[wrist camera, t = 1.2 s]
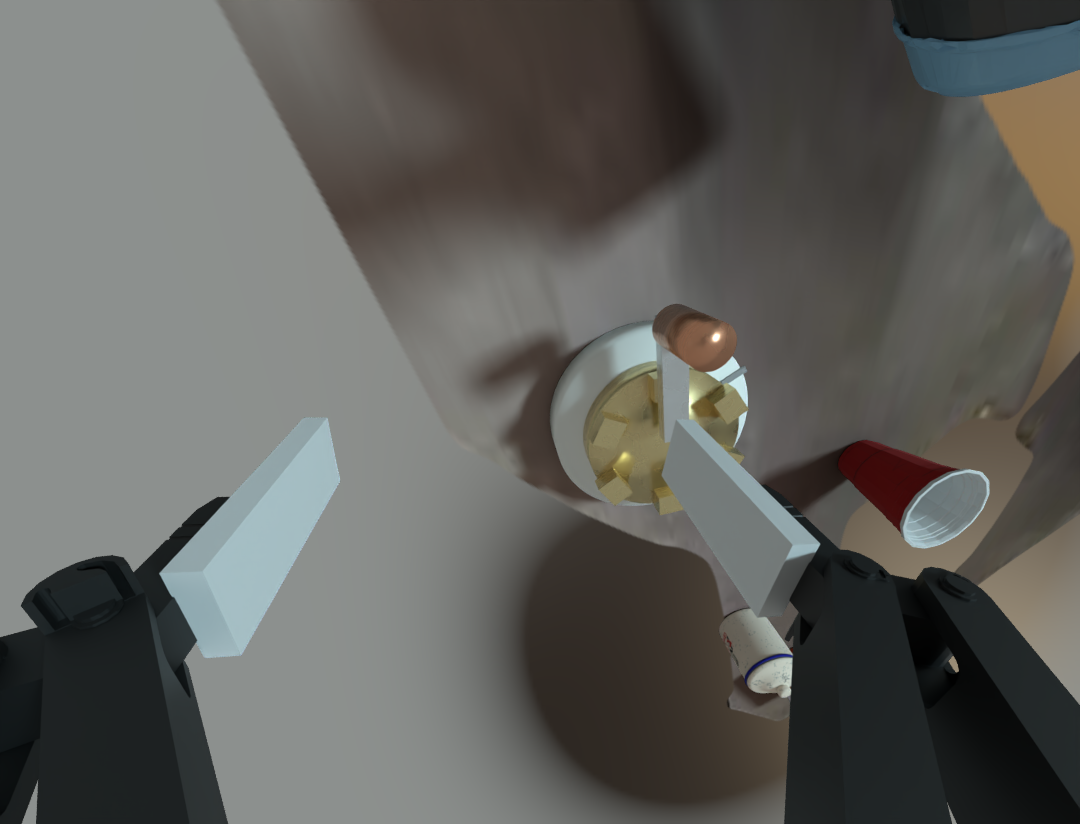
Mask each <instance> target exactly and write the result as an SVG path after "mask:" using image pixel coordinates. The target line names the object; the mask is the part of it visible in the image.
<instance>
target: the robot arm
mask: <svg viewBox="0 0 1080 824" xmlns="http://www.w3.org/2000/svg"><path fill="white" fill-rule="evenodd" d="M891 1H892V5H893V10H894V14H895V16H894V19H893V22H892V23H893V28H894V32H895V34H896V36H897V37H898V39H900V40H901V41H902V42H903V43H904V46H905V49H906V52H907V55H908V58H909V62H910V65H911V68H912V71H913V74H914V77H915V79H916V81H917V82H918V83H919V85H921V86H922V87H923V88H924V89H926V90H930V91H933V92H938V93H939V94H940V95H944V96H951V97H967V96H978V95H986V94H992V93H998V92H1003V91H1007V90H1012V89H1015V88H1020V87H1024V86H1028V85H1031V84H1035V83H1038V82H1042V81H1046V80H1049V79H1052V78H1056V77H1059V76H1061V75H1065V74H1068V73H1071V72H1074V71H1077V70H1080V0H891ZM662 477H663V479H664V480H665V482H666V483H667V485H668V486H669V488H670V489H671V491H672V492H673V494H674V495H675V497H676V498H677V500H678V501H679V502H680V504H681V505H682V507H683V508H684V510H685V511H686V513H687V514H688V516H689V517H690V519H691V520H692V522H693V523H694V525H695V526H696V528H697V529H698V531H699V532H700V534H701V535H702V537H703V538H704V540H705V541H706V543H707V544H708V546H709V547H710V549H711V550H712V552H713V553H714V555H715V556H716V558H717V559H718V561H719V562H720V563H721V565H722V566H723V568H724V569H725V571H726V572H727V574H728V575H729V577H730V578H731V580H732V581H733V583H734V584H735V586H736V587H737V589H738V590H739V592H740V593H741V595H742V596H743V598H744V599H745V601H746V602H747V604H748V605H749V607H750V608H751V610H752V611H753V613H754V614H755V616H756V617H757V618H761V617H774V616H782V614H783V613H784V611H785V609H786V607H787V605H788V603H789V601H790V602H791V603H792V604H793V605H794V607H795V608H796V609H797V610H798V612H799V613H798V615H797V616H796V618H795V620H794V622H793V624H792V625H791V627H790V629H789V631H788V632H787V634H786V637H785V640H787V641H790V639H791V637H792V636H794V639H793V659H792V679H791V699H790V719H789V740H788V759H787V760H788V761H787V779H786V800H785V820H784V824H952V821H951V817H950V813H949V809H948V805H949V807H950V809H951V811H952V814H953V816H954V818H955V820H956V823H957V824H1080V705H1079V704H1078V702H1077V701H1076V700H1075V699H1074V698H1073V696H1072V695H1071V694H1070V693H1069V692H1068V690H1067V689H1066V688H1065V687H1064V686H1063V684H1062V683H1061V682H1060V681H1059V679H1058V678H1057V677H1056V676H1055V675H1054V674H1053V672H1052V671H1051V670H1050V669H1049V667H1048V666H1047V665H1046V664H1045V663H1044V661H1043V660H1042V659H1041V658H1040V657H1039V655H1038V654H1037V653H1036V652H1035V651H1034V649H1033V648H1032V647H1031V646H1030V645H1029V643H1028V642H1027V641H1026V640H1025V638H1024V637H1023V636H1022V635H1021V634H1020V632H1019V631H1018V630H1017V629H1016V628H1015V626H1014V625H1013V624H1012V623H1011V622H1010V620H1009V619H1008V618H1007V617H1006V616H1005V614H1004V613H1003V612H1002V611H1001V610H1000V608H999V607H998V606H997V605H996V604H995V602H994V601H993V600H992V599H991V598H990V597H989V596H988V595H987V594H986V593H985V592H984V591H983V590H982V589H981V588H979V587H978V586H977V585H975V584H974V583H972V582H971V581H970V580H968V579H966V578H965V577H961V575H958V574H956V573H954V572H950V571H947V570H944V569H941V568H934V567H929V568H924V569H923V571H922V572H921V573H920V575H919V576H918V577H917V579H916V580H914V579H909V578H904V577H899V576H894V575H890V574H889V573H888V572H887V571H886V570H885V569H884V568H883V567H882V566H880V565H879V564H878V563H876V562H875V561H873V560H872V559H870V558H868V557H866V556H864V555H862V554H859V553H856V552H853V551H849V550H840V549H838V548H837V547H836V546H835V545H834V544H833V543H832V542H831V541H830V540H829V539H828V538H827V537H826V536H825V535H824V534H823V533H822V532H820V531H819V530H818V529H817V528H816V527H815V526H814V525H813V524H812V523H811V522H810V521H809V520H808V519H807V518H806V517H803V515H802V514H801V513H800V512H799V511H798V510H797V509H796V508H793V505H792V504H791V503H790V502H789V501H788V500H787V499H785V498H784V497H783V496H782V495H781V494H780V493H778V492H776V491H775V490H773V489H771V488H770V487H768V486H766V485H760V484H759V483H758V482H757V481H756V480H755V479H754V478H753V477H752V476H751V475H750V474H749V473H748V472H747V471H746V470H745V469H744V468H743V467H742V466H741V465H740V464H739V463H738V462H736V461H735V460H734V459H733V458H732V457H731V456H730V455H729V454H728V453H727V452H726V451H725V450H724V449H723V448H722V447H721V446H720V445H719V444H718V443H717V442H716V441H715V440H714V439H713V438H712V437H711V436H710V435H709V434H708V433H707V432H706V431H705V430H704V429H703V428H702V427H701V426H700V425H699V424H698V423H697V422H696V421H695V420H676V421H675V425H674V429H673V433H672V437H671V441H670V445H669V449H668V452H667V456H666V460H665V464H664V468H663V472H662ZM339 482H340V477H339V473H338V468H337V463H336V458H335V453H334V448H333V443H332V438H331V434H330V428H329V423H328V418H303V419H302V420H301V421H300V423H299V424H298V425H297V426H296V427H295V428H294V429H293V430H292V431H291V432H290V433H289V435H287V436H286V438H285V439H284V440H283V441H282V442H281V443H280V444H279V445H278V446H277V447H276V448H275V449H274V450H273V452H272V453H271V454H270V455H269V456H268V457H267V458H266V459H265V460H264V461H263V462H262V463H261V465H260V466H259V467H258V468H257V469H256V470H255V471H254V472H253V473H252V474H251V475H250V476H249V477H248V479H247V480H246V481H245V482H244V483H243V484H242V485H241V486H240V487H239V488H238V489H237V490H236V491H235V493H234V494H233V495H232V496H231V497H217V498H215V499H214V500H212V501H210V502H209V503H207V504H205V505H204V506H202V507H201V508H199V509H197V510H196V511H195V512H194V513H193V514H192V515H191V516H190V517H189V518H188V519H187V520H186V521H185V522H184V523H183V524H182V527H179V528H178V529H177V530H176V531H175V532H174V533H173V534H172V535H171V536H170V539H169V540H166V541H165V542H164V543H163V544H162V545H161V546H160V547H159V548H158V549H157V550H156V551H155V552H154V553H153V554H152V555H151V556H150V557H149V558H148V559H147V560H146V561H145V562H144V563H143V564H142V565H141V566H140V567H139V568H138V569H137V570H136V571H135V572H134V573H133V571H132V570H131V568H130V566H129V564H128V563H127V561H126V560H125V559H124V558H123V557H118V556H113V555H111V556H102V557H95V558H92V559H88V560H85V561H81V562H78V563H75V564H73V565H71V566H69V567H66V568H64V569H62V570H60V571H57V572H56V573H54V574H53V575H51V576H49V577H48V578H46V579H45V580H43V581H42V582H40V583H38V584H37V585H36V586H35V587H34V588H33V589H32V590H31V591H30V592H29V593H28V594H27V595H26V596H25V598H24V600H23V602H22V604H21V607H22V608H23V609H24V610H25V612H26V613H27V614H28V615H29V617H30V618H31V619H32V620H33V621H34V623H35V624H36V625H37V628H33V629H29V630H26V631H22V632H18V633H14V634H11V635H7V636H3V637H0V824H22V821H23V818H24V816H25V813H26V810H27V808H28V805H29V802H30V800H31V797H32V794H33V792H34V789H35V786H36V784H37V781H38V795H37V797H38V798H37V816H36V824H228V822H227V818H226V814H225V810H224V806H223V802H222V798H221V794H220V790H219V786H218V782H217V778H216V774H215V770H214V766H213V763H212V759H211V755H210V751H209V747H208V743H207V739H206V735H205V731H204V727H203V723H202V719H201V716H200V711H199V707H198V703H197V700H196V696H195V692H194V688H193V684H192V680H191V676H190V672H189V668H188V666H187V665H186V663H185V661H184V659H185V658H186V656H187V654H188V653H189V652H190V650H191V649H192V647H193V646H194V644H195V643H197V645H198V647H199V649H200V650H201V652H202V654H203V656H204V658H212V657H226V656H240V655H242V653H243V651H244V650H245V648H246V646H247V644H248V643H249V641H250V639H251V637H252V636H253V634H254V632H255V630H256V628H257V627H258V625H259V623H260V621H261V620H262V618H263V616H264V614H265V613H266V611H267V609H268V607H269V606H270V604H271V602H272V600H273V598H274V597H275V595H276V593H277V591H278V590H279V588H280V586H281V584H282V582H283V581H284V579H285V577H286V576H287V574H288V572H289V570H290V569H291V567H292V565H293V563H294V561H295V560H296V558H297V556H298V554H299V552H300V551H301V549H302V547H303V546H304V544H305V542H306V540H307V539H308V537H309V535H310V533H311V531H312V530H313V528H314V526H315V524H316V522H317V521H318V519H319V517H320V516H321V514H322V512H323V510H324V509H325V507H326V505H327V503H328V501H329V499H330V498H331V496H332V494H333V493H334V491H335V489H336V487H337V486H338V484H339ZM952 656H954V657H955V659H956V661H957V664H958V668H959V672H957V673H956V672H955V671H954V670H953V668H952V666H951V665H950V663H949V662H948V661H949V660H950V659H951V657H952ZM947 803H948V805H947Z"/></svg>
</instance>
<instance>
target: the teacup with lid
mask: <svg viewBox="0 0 1080 824" xmlns="http://www.w3.org/2000/svg"><path fill="white" fill-rule="evenodd" d="M719 635H720V637H721V638H722V640H723V642H724V643H725V645H726V647H727V649H728V651H729V652H730V654H731V656H732V658H733V659H734V661H735V663H736V665H737V666H738V668H739V670H740V672H741V673H742V675H743V677H744V679H745V683H746V685H747V686H748V687H749V688H750V689H751V690H752V691H754V692H757V693H778V695H779V696H780V697H782V698H785V697H788V696H790V695H791V689H790V686H791V679H792V659H793V654H792V653H791V651H790V650H789V648H788V647H787V646H786V644H785V643H784V641H783V640H782V639H781V637H780V636H779V634H778V633H777V632H776V630H775V629H774V627H773V626H772V625H771V623H770V622H769V620H768V619H767V618H766V617H761V618H757V617H756V616H755V614H754V613H753V611H752V610H751V608H747V609H742V610H739V611H736V612H734V613H732V614H730V615H729V616H728V617H726V618H725V619H724V620H723V621H722V623H721V625H720V627H719Z"/></svg>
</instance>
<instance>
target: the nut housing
mask: <svg viewBox="0 0 1080 824" xmlns="http://www.w3.org/2000/svg"><path fill="white" fill-rule="evenodd" d="M653 322H654V321H642V322H637V323H632V324H628V325H625V326H622V327H619V328H616V329H614V330H612V331H610V332H608V333H605V334H604V335H602V336H600V337H599V338H597V339H596V340H594V341H593V342H591V343H590V344H589V345H588V346H586V347H585V348H584V349H583V350H582V351H581V352H580V353H579V354H578V355H577V356H576V357H575V358H574V359H573V360H572V362H571V363H570V364H569V366H568V367H567V368H566V370H565V371H564V373H563V375H562V376H561V378H560V380H559V382H558V384H557V387H556V389H555V391H554V395H553V399H552V402H551V410H550V427H551V433H552V437H553V440H554V444H555V447H556V450H557V453H558V456H559V459H560V462H561V465H562V466H563V468H564V470H565V472H566V474H567V475H568V476H569V478H570V479H571V480H572V481H573V482H574V483H575V484H576V485H577V486H578V487H579V488H580V489H581V490H583V491H584V492H585V493H587V494H588V495H590V496H592V497H594V498H596V499H599V500H601V501H604V502H607V503H611V502H610V501H609V500H608V499H607V498H606V497H605V496H604V495H603V494H602V493H601V492H600V491H599V490H598V487H597V485H596V483H595V480H596V479H597V477H596V476H595V474H594V471H593V469H592V467H591V465H590V462H589V460H588V458H587V455H586V453H585V449H584V444H583V429H584V424H585V419H586V417H587V414H588V411H589V409H590V407H591V405H592V403H593V402H594V400H595V399H596V397H597V396H598V394H599V393H600V392H601V391H602V390H603V389H604V388H605V386H607V385H608V384H609V383H610V382H611V381H612V380H613V379H615V378H616V377H617V376H619V375H620V374H622V373H623V372H625V371H627V370H629V369H631V368H633V367H635V366H638V365H640V364H643V363H647V362H651V361H657V358H656V341H655V339H654V337H653V334H652V326H653ZM745 372H747V370H746V368H745V366H743V367H741V368H740V367H739V365H738V363H737V362H736V360H735V359H734V358H733V357H731V358H730V360H729V361H728V362H727V363H726V364H725V365H724V366H722V367H721V368H719V369H717V370H715V371H711V372H706V373H708V374H709V375H711V376H712V377H713V378H715V379H716V380H718V381H719V382H721V383H722V384H725V383H728V384H729V385H731V386H732V387H734V388H735V389H736V390H737V392H738V393H739V395H740V396H741V398H742V399H743V401H744V403H745V404H746V406H747V405H748V396H747V387H746V382H745V379H744V376H743V374H744V373H745ZM746 414H747V411H746V412H745V413H743V414H742V415H741V416H739V428H738V435H737V438H736V442H737V440H738V438H739V436H740V434H741V431H742V429H743V426H744V422H745V418H746ZM736 442H735V444H736ZM734 446H735V445H734ZM733 448H734V447H733ZM612 504H613V503H612ZM651 504H654V503H651ZM617 505H625V506H640V505H649V504H646V503H635V502H630V501H627V500H622V501H621V502H620V503H618V504H617Z"/></svg>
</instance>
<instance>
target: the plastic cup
mask: <svg viewBox="0 0 1080 824" xmlns="http://www.w3.org/2000/svg"><path fill="white" fill-rule="evenodd" d="M838 467H839V470H840V471H841V473H842V474H843V475H844V476H845V477H846V478H847V479H849V480H850V481H851V482H852V483H853V484H854V486H855V487H856V488H857V489H858V490H859V491H860V492H861V493H862V494H863V495H864V496H865V497H866V498H867V499H868V500H869V501H870V502H871V503H872V504H873V505H875V507H876V508H878V509H879V510H880V511H881V512H882V513H883V514H884V515H885V516H886V518H887V519H888V520H889V521H890V522H892V524H893V525H894V526H895V527H896V528H897V529H898V530H899V531H900V533H901V536H902V537H903V538H904V539H905V540H906V541H907V542H908V543H909V544H910V545H911V546H912V547H918V548H929V547H933V546H937V545H941V544H943V543H944V542H946V541H948V540H950V539H952V538H954V537H956V536H957V535H959V534H960V533H961V532H962V531H963V530H964V529H966V528H967V527H968V526H969V525H970V524H972V522H973V521H974V520H975V518H976V517H977V516H978V514H979V513H980V512H981V511H982V509H983V508H984V505H985V503H986V500H987V498H988V496H989V480H988V479H987V478H986V477H985V476H984V474H983V473H982V472H979V471H974V470H969V469H956V468H951V467H948V466H944V465H940V464H937V463H935V462H932V461H929V460H926V459H923V458H921V457H918V456H915V455H912V454H909V453H906V452H904V451H901V450H897V449H893V448H891V447H888V446H885V445H883V444H880V443H878V442H873V441H869V440H863V441H858V442H856V443H854V444H852V445H851V446H849V447H848V448H847V449H846V450H845V451H844V452H843V453H842V455H841V456H840V458H839V462H838Z"/></svg>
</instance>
